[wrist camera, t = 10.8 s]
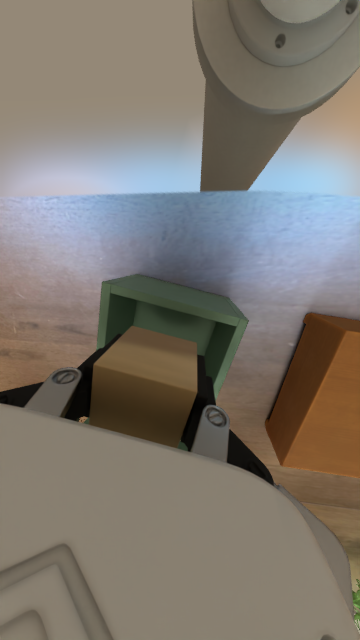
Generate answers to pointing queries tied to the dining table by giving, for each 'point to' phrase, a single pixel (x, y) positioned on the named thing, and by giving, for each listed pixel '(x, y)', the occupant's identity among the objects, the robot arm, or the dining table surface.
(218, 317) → the chest
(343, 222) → the dining table surface
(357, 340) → the wooden box
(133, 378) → the block
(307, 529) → the robot arm
